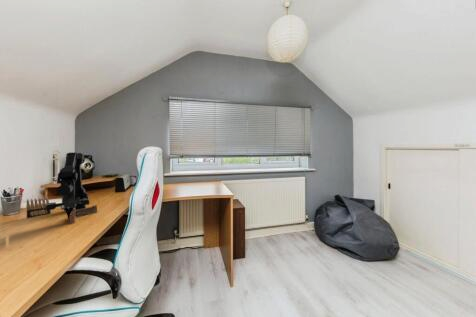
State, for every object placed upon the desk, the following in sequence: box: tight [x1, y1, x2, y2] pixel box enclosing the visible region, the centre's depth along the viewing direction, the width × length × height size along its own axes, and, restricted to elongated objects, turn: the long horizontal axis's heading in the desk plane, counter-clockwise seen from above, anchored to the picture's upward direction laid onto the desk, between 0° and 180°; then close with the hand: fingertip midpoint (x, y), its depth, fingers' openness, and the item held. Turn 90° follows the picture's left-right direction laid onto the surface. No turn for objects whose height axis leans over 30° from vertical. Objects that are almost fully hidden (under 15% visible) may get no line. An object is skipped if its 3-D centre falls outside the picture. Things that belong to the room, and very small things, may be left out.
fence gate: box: [69, 211, 77, 224], centre depth 116 cm, size 2×10×4 cm, turn 35°
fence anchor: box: [72, 204, 98, 218], centre depth 125 cm, size 2×12×5 cm, turn 139°
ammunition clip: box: [25, 196, 52, 219], centre depth 124 cm, size 11×2×12 cm, turn 127°
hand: (68, 218), depth 113 cm, fingers closed
